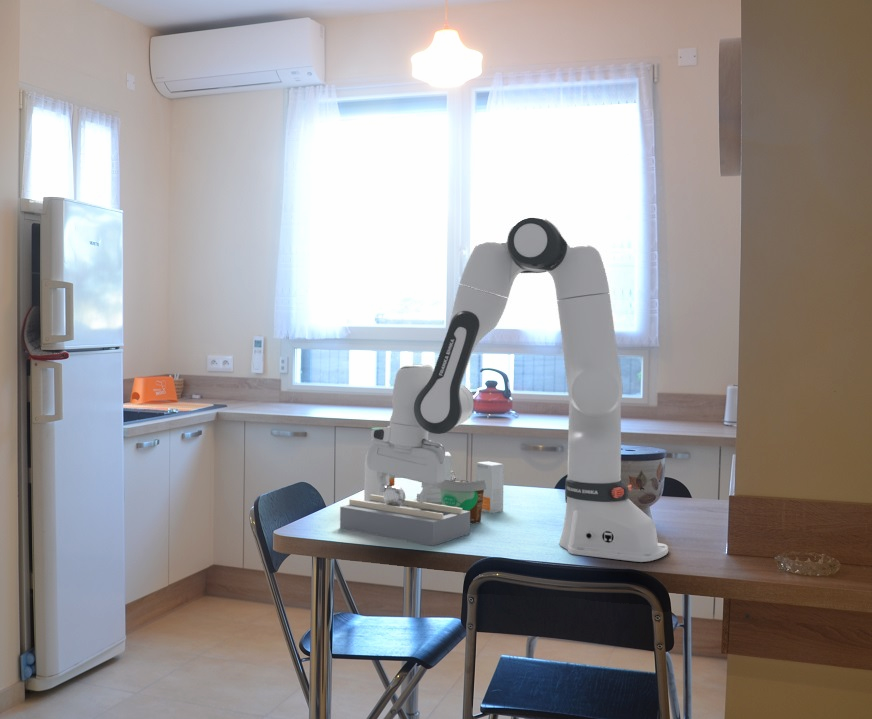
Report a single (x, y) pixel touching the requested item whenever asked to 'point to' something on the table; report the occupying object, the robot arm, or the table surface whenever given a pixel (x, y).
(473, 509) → the food container
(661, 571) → the table surface
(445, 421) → the robot arm
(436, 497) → the supplement box
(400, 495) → the steel ball
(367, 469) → the milk bottle
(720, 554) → the table surface
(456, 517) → the grey slotted tray
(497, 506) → the skincare box
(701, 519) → the table surface
